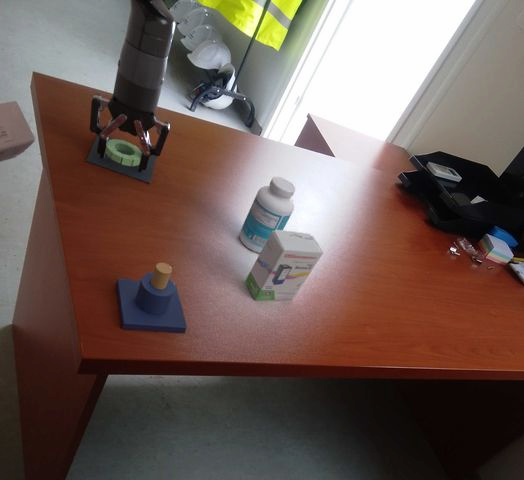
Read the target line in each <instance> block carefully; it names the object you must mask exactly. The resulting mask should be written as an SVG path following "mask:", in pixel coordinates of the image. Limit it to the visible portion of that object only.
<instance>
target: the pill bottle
mask: <svg viewBox="0 0 524 480" xmlns="http://www.w3.org/2000/svg"><path fill="white" fill-rule="evenodd" d="M295 193H296V186H295V185H294V183H292V182H291V181H289V180H288V179H286V178H284V177H282V176H273V177H272V178H271V180H270V182H269V185H264V186H262V187H260V188H259V189H258V191H257V192H256V195H255V197H254V200H253V202H252V203H251V207H250V208H249V211H248V213H247V214H246V217H245V220H244V222H243V224H242V227H241V229H240V231H239V239H240V241H241V243H242V245H244V247H246V248H248V249H249V250H251V251H252V252H255V253H257V254H260V252H261V251H262V249H263V247H264V245H265V243H266V241H267V240H268V238H269V236H270V234H271V232H272V231H275V230H284V229H285V228H286V226H287V224H288V222H289V220H290V218H291V216H292V214H293V212H294V210H295V202H294V199H293V198H292V197H293V196H294V194H295Z"/></svg>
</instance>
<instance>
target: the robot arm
mask: <svg viewBox="0 0 524 480" xmlns="http://www.w3.org/2000/svg"><path fill="white" fill-rule="evenodd" d="M129 3H130V4H129V5H130V11H129V15H128V20H127V26H126V31H125V38H124V41H123V43H122V47H121V50H120V55H119V59H118V61H117V70H116V76H115V82H114V86H113V92H112V96H111V97H110V99H108V98H104V97H102V96H101V94H99V93H95V94H94V95H93V97H92V99H91V104H90V120H89V130H90V132H91V133H95V134H96V136H97V135H98V136H99V143H98V149H97V152H98V154H100V158H103V159H104V157H105V154H106V153H105V149H106V144H107V142H108V138H110V135H111V134H113V133H114V132H115V131H116V130H117V129H118V131H121V132H122V133H128V134H129V135H131V136H133V137H137V138H138V140H139V144H140V146H141V148H142V149H141V150H143V153H142V157H141V161H140V165H139V169H138V171H139V172H142V170H145V169H146V168H147V164H148V160H149V157H150V156H151V155H155V156H156V158H157V157H160V156H161V154H162V152H163V148H164V145H165V143H166V140H167V138H168V135H169V133H170V128H171V124H170V122H168V121H164V122H163V121H161V120H159V119H157V116H156V112H157V108H158V104H159V100H160V96H161V93H162V89H163V84H164V82H165V77H166V72H167V66H168V58H169V55H170V51H171V47H172V41H173V38H174V34H175V29H176V20H175V17H174V15H173V14H172V13H171V11H170V10H169V9H168V7H167V6H166V4H165V2H164V1H163V0H129ZM106 108H107V109H108V111H109V114H110V116H111V118H110V119H109V121H108V122H107V123H106V124H105V125H104V126H102V125H101V124H100V119H101V113H102V112H104V110H105V109H106ZM154 127H155V128H156V133H157V135H158V138H157V141H156V144H155V145H152V144H151V140H150V134H149V130H151V129H152V128H154Z"/></svg>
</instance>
